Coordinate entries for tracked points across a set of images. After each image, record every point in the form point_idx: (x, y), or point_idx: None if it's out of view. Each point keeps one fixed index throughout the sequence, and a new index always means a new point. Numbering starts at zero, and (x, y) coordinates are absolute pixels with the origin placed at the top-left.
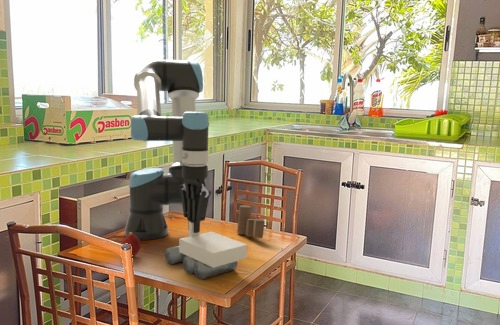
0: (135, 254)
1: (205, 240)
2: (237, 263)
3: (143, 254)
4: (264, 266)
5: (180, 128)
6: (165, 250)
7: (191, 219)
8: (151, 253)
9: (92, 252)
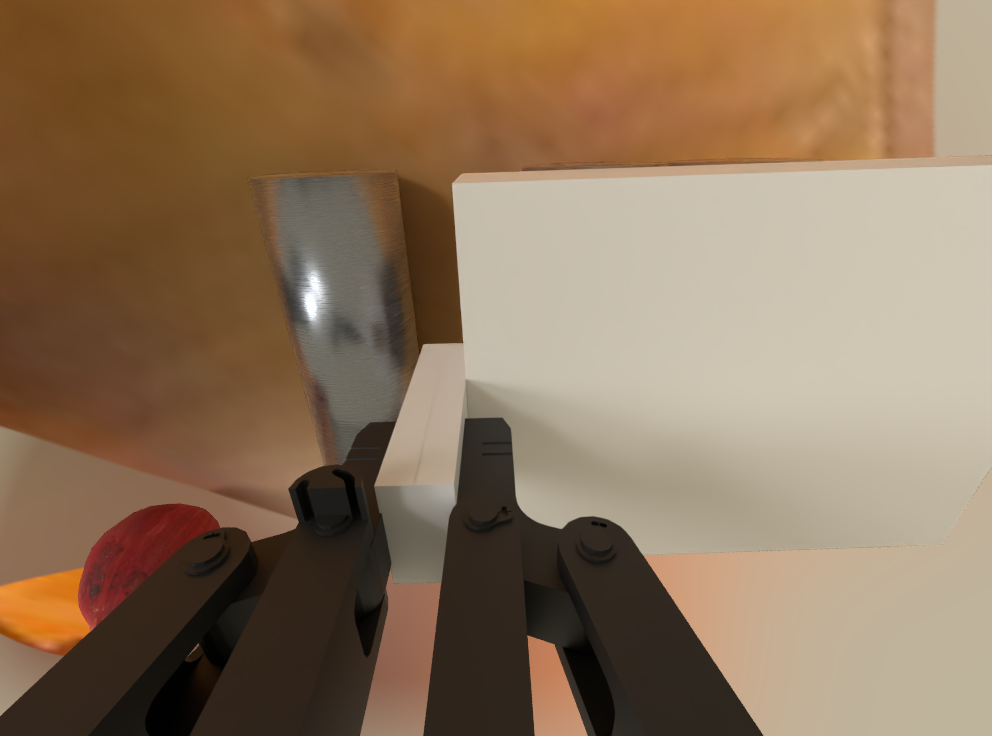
0: (215, 519)
1: (673, 436)
2: (812, 159)
3: (177, 454)
4: None
5: None
6: (324, 464)
7: (385, 575)
8: (173, 416)
9: (72, 597)
